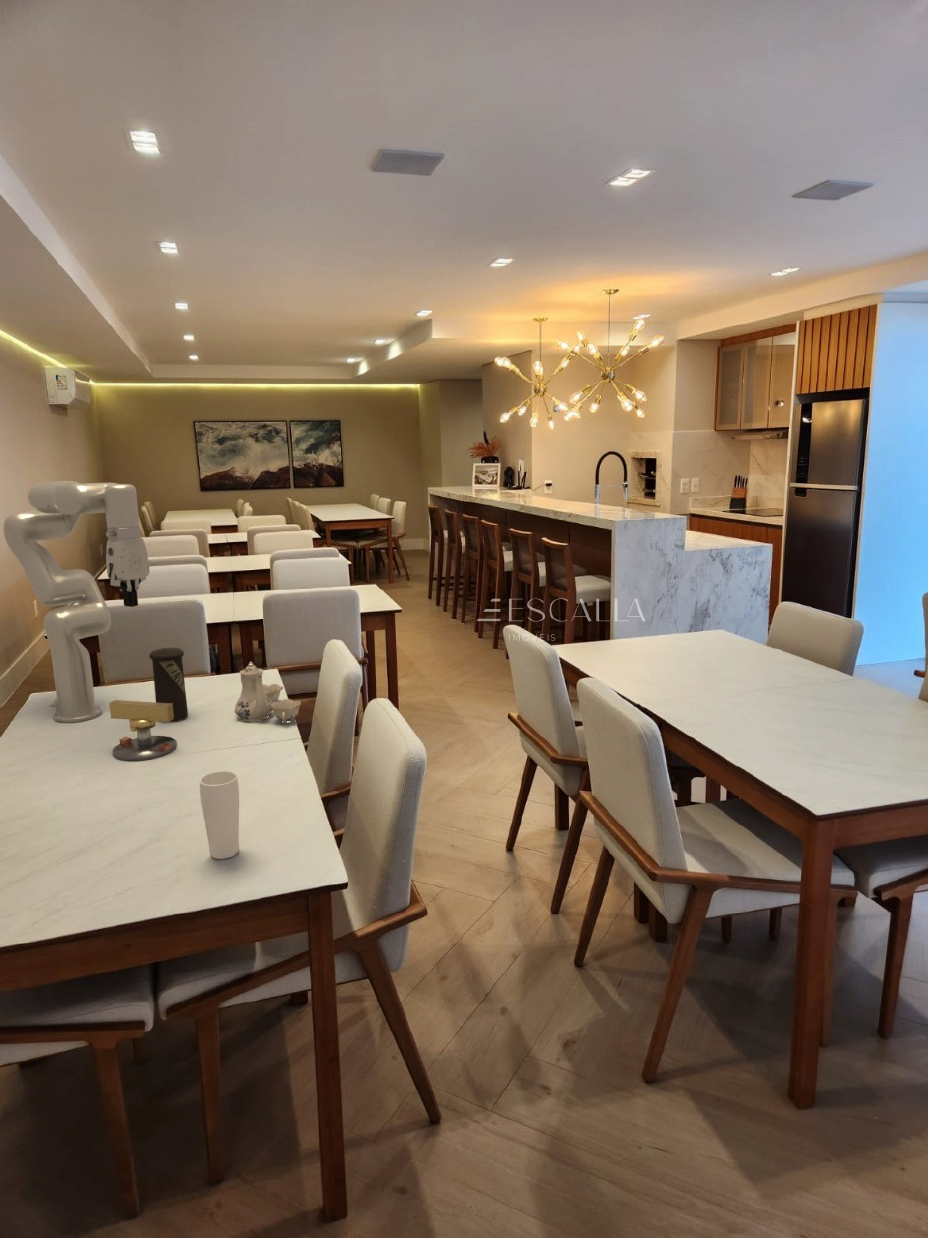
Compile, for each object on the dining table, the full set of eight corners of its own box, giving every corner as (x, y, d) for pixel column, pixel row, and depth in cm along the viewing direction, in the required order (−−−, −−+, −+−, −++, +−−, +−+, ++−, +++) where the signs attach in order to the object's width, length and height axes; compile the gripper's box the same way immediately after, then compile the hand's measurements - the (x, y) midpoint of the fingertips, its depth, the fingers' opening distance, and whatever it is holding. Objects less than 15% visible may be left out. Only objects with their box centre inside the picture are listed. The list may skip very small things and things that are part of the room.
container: (178, 724, 219) (172, 653, 215) (149, 722, 221) (142, 652, 217) (195, 714, 228) (189, 646, 223) (166, 712, 229) (160, 644, 225)
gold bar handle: (162, 734, 193) (159, 710, 192) (103, 730, 196) (101, 706, 195) (181, 722, 201) (179, 699, 200) (125, 718, 205) (122, 696, 203)
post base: (99, 756, 196) (96, 733, 195) (144, 736, 210) (142, 714, 209) (146, 764, 191) (144, 741, 189) (189, 743, 204) (187, 721, 203)
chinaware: (311, 728, 219) (314, 669, 217) (253, 735, 210) (255, 673, 207) (272, 703, 242) (274, 649, 239) (218, 708, 232) (220, 652, 230)
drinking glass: (210, 845, 151) (203, 771, 148) (246, 843, 152) (241, 770, 149) (201, 863, 145) (195, 786, 141) (239, 861, 145) (233, 784, 142)
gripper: (112, 537, 191) (119, 612, 195) (157, 531, 205) (163, 601, 208) (88, 536, 194) (96, 610, 198) (134, 530, 207) (141, 599, 211)
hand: (131, 605), depth 203 cm, fingers closed
